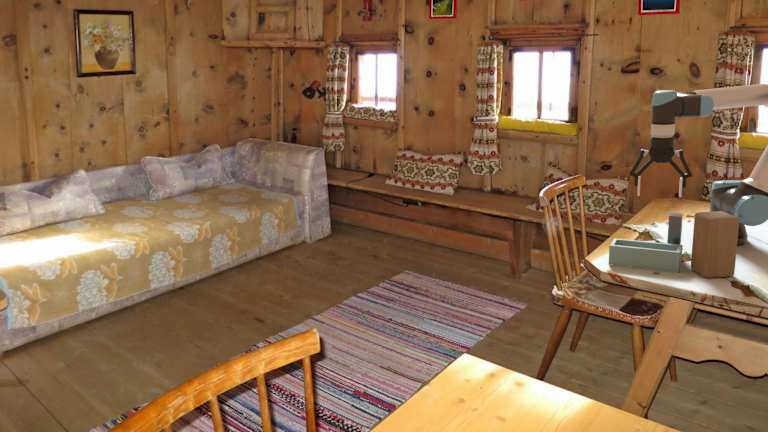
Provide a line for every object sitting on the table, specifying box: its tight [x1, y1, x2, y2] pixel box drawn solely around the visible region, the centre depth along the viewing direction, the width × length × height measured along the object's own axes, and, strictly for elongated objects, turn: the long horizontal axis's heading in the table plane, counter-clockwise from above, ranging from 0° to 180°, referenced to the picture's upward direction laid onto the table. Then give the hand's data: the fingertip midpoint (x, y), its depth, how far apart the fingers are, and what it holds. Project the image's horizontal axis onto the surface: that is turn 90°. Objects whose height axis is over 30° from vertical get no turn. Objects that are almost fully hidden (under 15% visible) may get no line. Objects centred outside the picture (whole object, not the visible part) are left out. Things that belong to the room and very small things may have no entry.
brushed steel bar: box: [666, 212, 684, 245], centre depth 231 cm, size 4×4×16 cm
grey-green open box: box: [608, 238, 684, 273], centre depth 228 cm, size 22×9×7 cm, turn 61°
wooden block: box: [690, 211, 739, 279], centre depth 215 cm, size 10×10×20 cm
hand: (659, 195), depth 233 cm, fingers open, 13 cm apart
